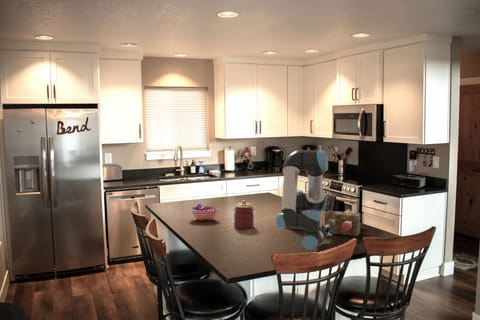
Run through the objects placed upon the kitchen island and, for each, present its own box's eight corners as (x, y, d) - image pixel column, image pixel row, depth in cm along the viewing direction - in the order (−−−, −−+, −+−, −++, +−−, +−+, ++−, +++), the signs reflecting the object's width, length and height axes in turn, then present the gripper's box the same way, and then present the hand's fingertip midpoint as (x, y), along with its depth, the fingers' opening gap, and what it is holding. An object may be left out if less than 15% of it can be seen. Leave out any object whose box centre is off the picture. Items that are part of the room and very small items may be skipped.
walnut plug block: (324, 232, 269) (324, 213, 268) (327, 229, 276) (328, 210, 275) (357, 235, 260) (357, 216, 259) (359, 232, 267) (360, 213, 266)
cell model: (215, 223, 291) (215, 207, 290) (186, 222, 295) (186, 205, 294) (221, 218, 307) (221, 202, 306) (194, 217, 311) (194, 201, 310)
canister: (236, 230, 273) (236, 202, 272) (231, 225, 286) (231, 199, 284) (256, 229, 277) (256, 201, 275) (250, 224, 289) (250, 198, 288)
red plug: (341, 231, 254) (341, 222, 254) (345, 226, 266) (346, 217, 265) (350, 232, 252) (350, 223, 252) (354, 227, 263) (354, 218, 263)
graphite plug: (324, 229, 259) (324, 220, 258) (329, 224, 270) (329, 216, 270) (333, 230, 256) (333, 221, 256) (338, 225, 268) (338, 217, 267)
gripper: (305, 241, 237) (317, 231, 258) (329, 244, 231) (339, 234, 252) (305, 228, 236) (317, 219, 257) (329, 230, 231) (339, 221, 252)
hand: (328, 226), depth 255 cm, fingers closed
